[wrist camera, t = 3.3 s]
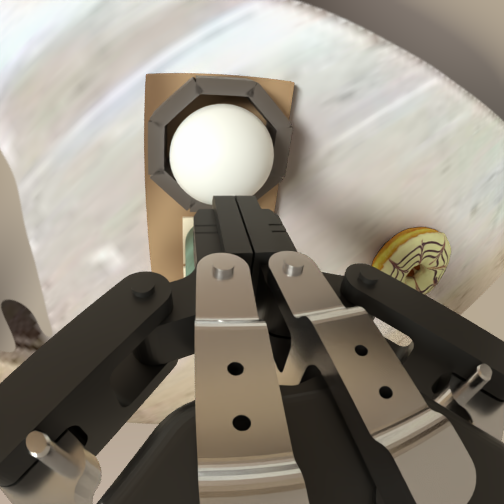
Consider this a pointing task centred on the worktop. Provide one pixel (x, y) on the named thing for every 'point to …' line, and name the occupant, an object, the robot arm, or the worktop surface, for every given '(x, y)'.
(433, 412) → the robot arm
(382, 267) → the decorated donut
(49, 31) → the worktop surface
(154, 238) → the game board
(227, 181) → the white ball
